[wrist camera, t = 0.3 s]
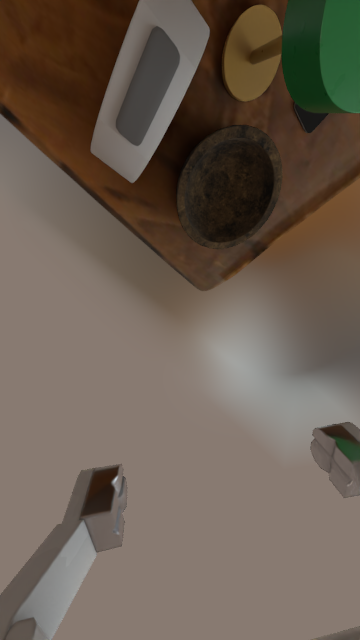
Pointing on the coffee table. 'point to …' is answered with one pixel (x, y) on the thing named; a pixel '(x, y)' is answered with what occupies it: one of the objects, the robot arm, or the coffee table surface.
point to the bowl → (228, 186)
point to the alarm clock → (148, 83)
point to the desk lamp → (298, 54)
